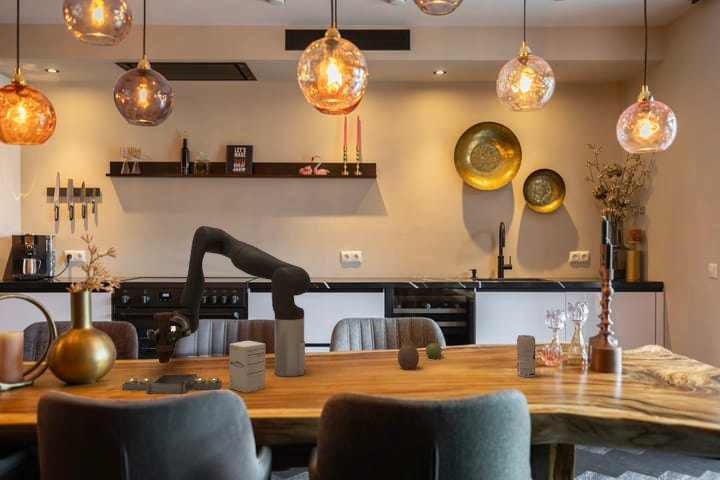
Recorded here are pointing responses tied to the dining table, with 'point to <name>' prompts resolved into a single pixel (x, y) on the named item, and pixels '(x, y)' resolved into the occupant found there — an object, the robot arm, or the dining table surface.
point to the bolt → (163, 336)
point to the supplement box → (247, 366)
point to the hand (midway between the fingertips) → (161, 337)
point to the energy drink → (526, 356)
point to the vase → (408, 356)
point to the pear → (433, 350)
